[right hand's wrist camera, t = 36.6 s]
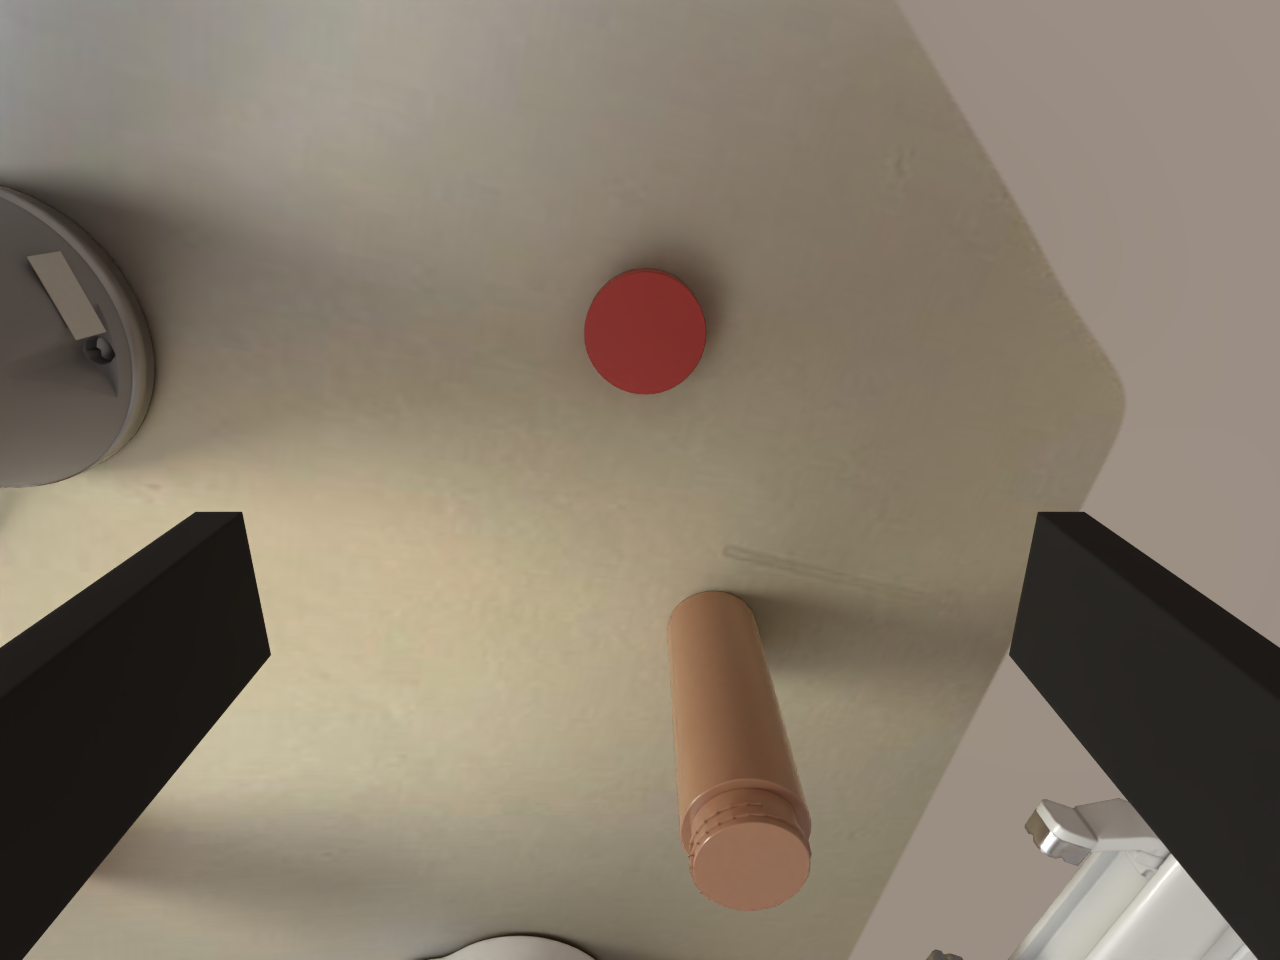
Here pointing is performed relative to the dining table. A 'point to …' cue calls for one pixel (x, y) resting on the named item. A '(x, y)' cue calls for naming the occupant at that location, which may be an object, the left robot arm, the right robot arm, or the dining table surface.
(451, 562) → the dining table surface
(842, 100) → the dining table surface
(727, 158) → the dining table surface
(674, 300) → the lid
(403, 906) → the dining table surface
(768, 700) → the jar
